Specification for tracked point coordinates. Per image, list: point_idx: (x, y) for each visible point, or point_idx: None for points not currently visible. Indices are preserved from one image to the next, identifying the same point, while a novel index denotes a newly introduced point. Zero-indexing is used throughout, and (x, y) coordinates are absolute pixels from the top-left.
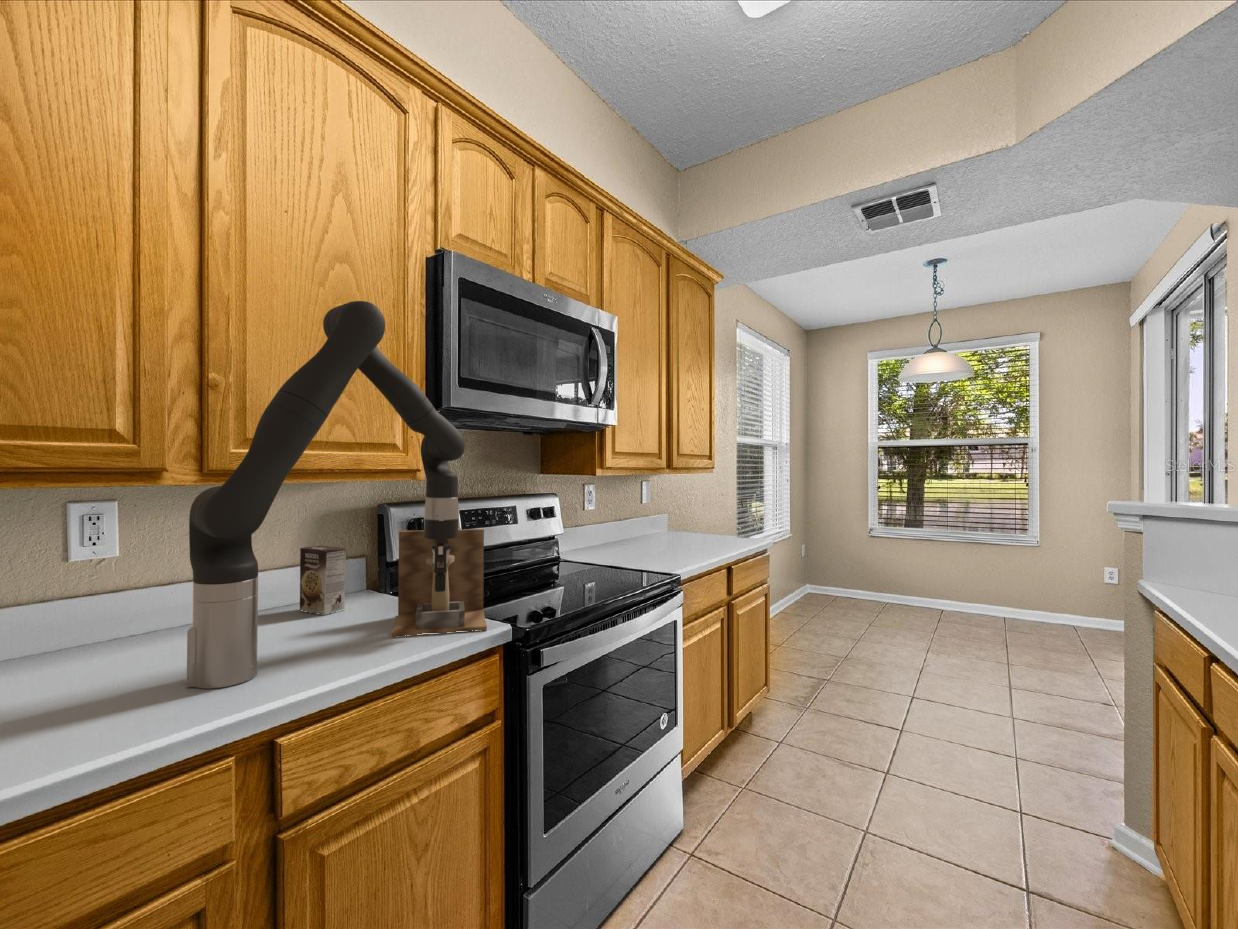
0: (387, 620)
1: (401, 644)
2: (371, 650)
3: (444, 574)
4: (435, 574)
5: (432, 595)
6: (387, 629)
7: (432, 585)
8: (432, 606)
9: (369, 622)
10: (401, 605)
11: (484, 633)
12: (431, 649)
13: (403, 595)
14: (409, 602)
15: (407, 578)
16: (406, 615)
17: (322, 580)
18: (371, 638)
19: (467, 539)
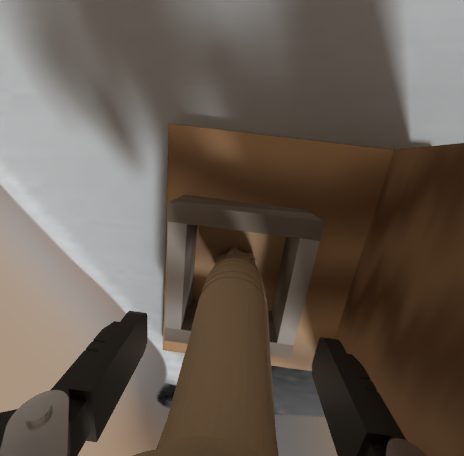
0: (384, 114)
1: (105, 152)
2: (66, 67)
3: (88, 436)
4: (45, 397)
5: (219, 286)
6: (269, 114)
7: (224, 316)
8: (226, 264)
9: (391, 47)
10: (414, 160)
11: (149, 334)
12: (53, 219)
13: (447, 169)
14: (411, 192)
15: None
16: (366, 177)
17: None
18: (184, 63)
19: None
